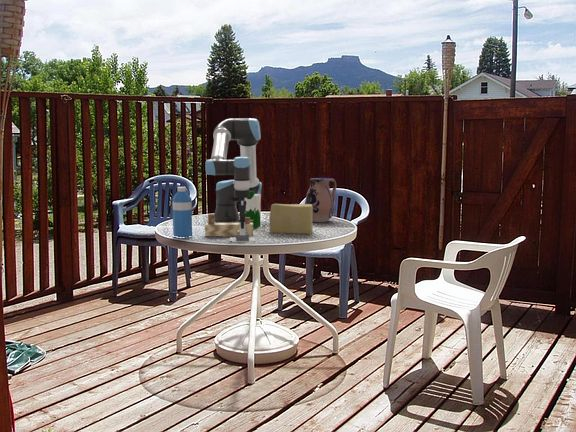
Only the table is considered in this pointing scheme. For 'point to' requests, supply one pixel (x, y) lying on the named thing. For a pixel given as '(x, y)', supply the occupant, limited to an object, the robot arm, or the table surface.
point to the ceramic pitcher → (321, 199)
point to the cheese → (291, 218)
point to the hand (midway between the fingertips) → (242, 232)
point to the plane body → (225, 227)
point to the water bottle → (182, 213)
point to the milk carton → (253, 209)
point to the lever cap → (242, 236)
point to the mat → (233, 239)
